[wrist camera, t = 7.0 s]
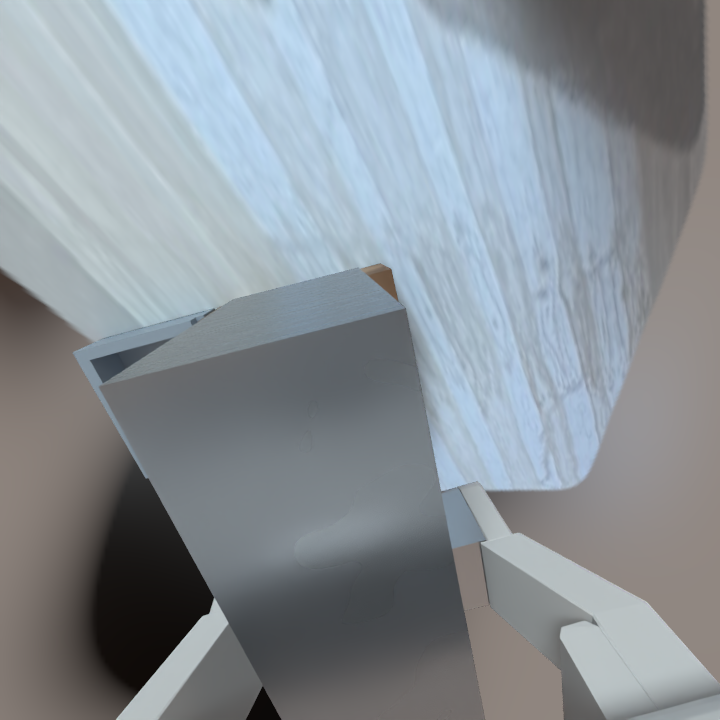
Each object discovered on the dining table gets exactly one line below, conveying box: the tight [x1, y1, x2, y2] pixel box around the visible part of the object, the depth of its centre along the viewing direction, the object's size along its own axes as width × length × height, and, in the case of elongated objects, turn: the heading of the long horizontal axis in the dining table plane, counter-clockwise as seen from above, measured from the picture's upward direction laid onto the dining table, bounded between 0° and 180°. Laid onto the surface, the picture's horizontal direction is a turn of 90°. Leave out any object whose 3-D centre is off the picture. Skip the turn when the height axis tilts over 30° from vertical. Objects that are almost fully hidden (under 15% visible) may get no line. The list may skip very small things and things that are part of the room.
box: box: [73, 309, 215, 478], centre depth 27 cm, size 9×11×4 cm
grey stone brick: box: [99, 268, 485, 720], centre depth 8 cm, size 3×12×5 cm, turn 13°
